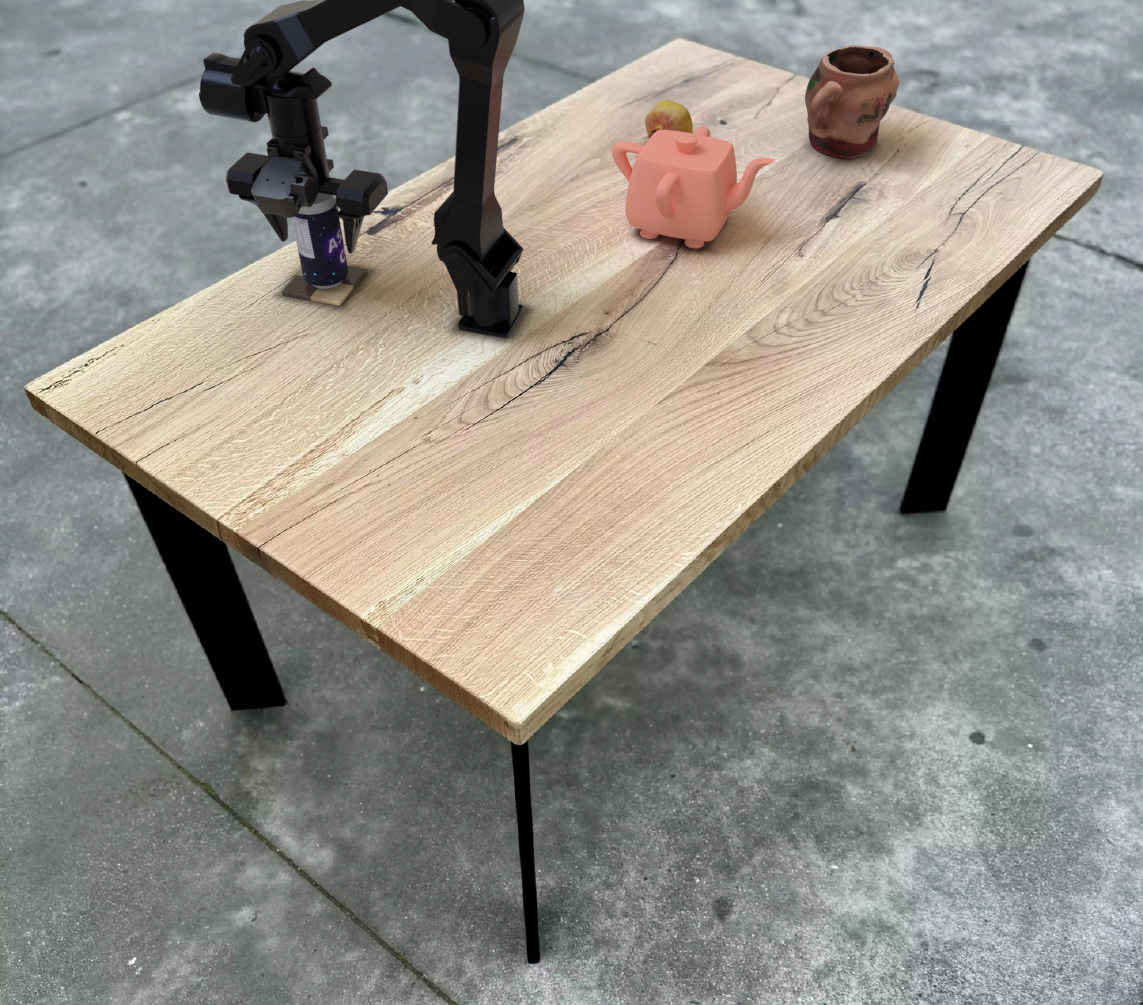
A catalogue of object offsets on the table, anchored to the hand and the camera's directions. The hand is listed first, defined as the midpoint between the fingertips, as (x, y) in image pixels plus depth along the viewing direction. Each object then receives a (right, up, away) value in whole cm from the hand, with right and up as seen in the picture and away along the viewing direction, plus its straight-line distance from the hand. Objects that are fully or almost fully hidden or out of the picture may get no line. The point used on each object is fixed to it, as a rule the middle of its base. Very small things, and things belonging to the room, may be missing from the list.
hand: (318, 246), depth 136 cm
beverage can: (0, -4, +4) cm, 5 cm away
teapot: (+47, +6, +14) cm, 49 cm away
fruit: (+46, +23, +31) cm, 60 cm away
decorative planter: (+72, +21, +30) cm, 81 cm away
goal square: (0, -4, +4) cm, 6 cm away
